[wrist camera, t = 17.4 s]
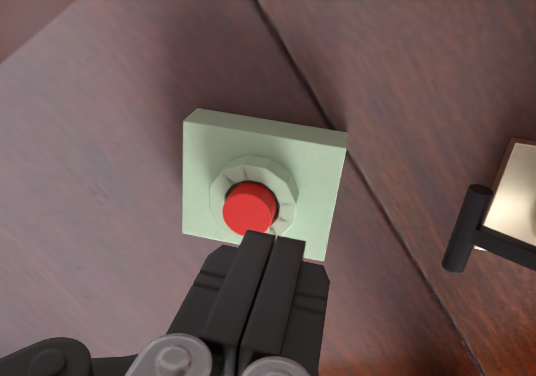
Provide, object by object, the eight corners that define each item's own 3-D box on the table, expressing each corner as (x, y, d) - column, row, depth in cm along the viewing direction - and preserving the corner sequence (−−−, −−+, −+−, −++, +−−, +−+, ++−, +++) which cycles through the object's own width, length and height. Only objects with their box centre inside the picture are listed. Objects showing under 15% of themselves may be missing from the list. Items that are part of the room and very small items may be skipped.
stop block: (194, 213, 40) (173, 245, 36) (197, 107, 35) (173, 128, 31) (326, 239, 38) (321, 275, 34) (348, 132, 34) (345, 158, 29)
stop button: (227, 219, 34) (220, 232, 32) (230, 177, 32) (223, 189, 31) (273, 228, 33) (269, 241, 32) (278, 186, 32) (274, 198, 30)
